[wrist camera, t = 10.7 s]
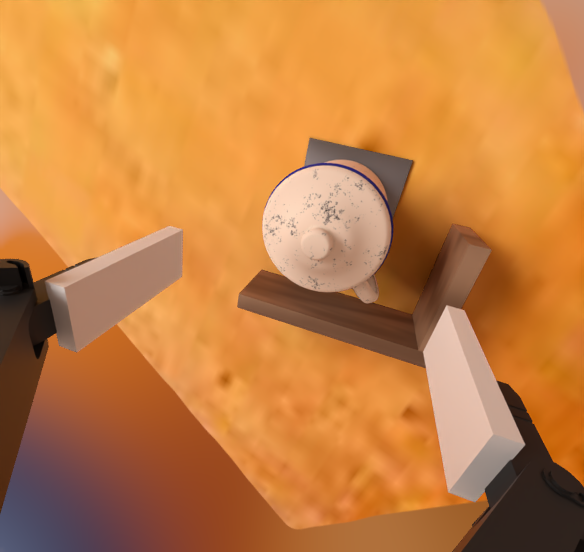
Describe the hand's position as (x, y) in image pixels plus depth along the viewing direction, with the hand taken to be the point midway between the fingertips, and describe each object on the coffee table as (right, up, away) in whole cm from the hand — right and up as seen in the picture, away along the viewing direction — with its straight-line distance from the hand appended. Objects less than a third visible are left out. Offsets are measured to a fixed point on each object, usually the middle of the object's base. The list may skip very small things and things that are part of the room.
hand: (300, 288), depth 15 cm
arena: (+6, +4, +15) cm, 16 cm away
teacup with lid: (+5, +6, +14) cm, 16 cm away
